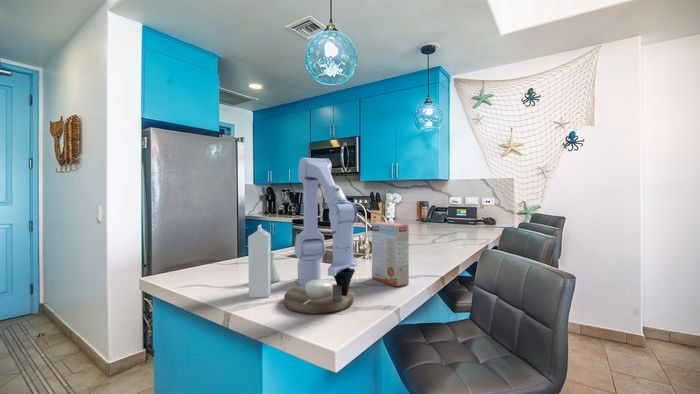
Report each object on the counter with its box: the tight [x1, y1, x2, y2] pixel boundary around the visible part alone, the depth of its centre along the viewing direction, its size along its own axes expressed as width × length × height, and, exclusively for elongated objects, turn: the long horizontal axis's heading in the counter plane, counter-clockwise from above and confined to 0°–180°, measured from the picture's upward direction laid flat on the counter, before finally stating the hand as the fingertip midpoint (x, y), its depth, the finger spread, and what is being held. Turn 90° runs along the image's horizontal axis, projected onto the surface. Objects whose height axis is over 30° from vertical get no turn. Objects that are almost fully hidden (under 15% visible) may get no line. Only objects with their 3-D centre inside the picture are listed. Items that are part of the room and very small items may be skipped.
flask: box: [271, 252, 281, 284], centre depth 115 cm, size 7×7×10 cm
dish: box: [305, 279, 334, 298], centre depth 93 cm, size 8×8×3 cm
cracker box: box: [371, 221, 410, 288], centre depth 113 cm, size 14×6×21 cm, turn 33°
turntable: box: [283, 283, 354, 314], centre depth 93 cm, size 20×20×6 cm
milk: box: [247, 223, 272, 299], centre depth 100 cm, size 6×6×22 cm
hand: (343, 295), depth 88 cm, fingers closed
